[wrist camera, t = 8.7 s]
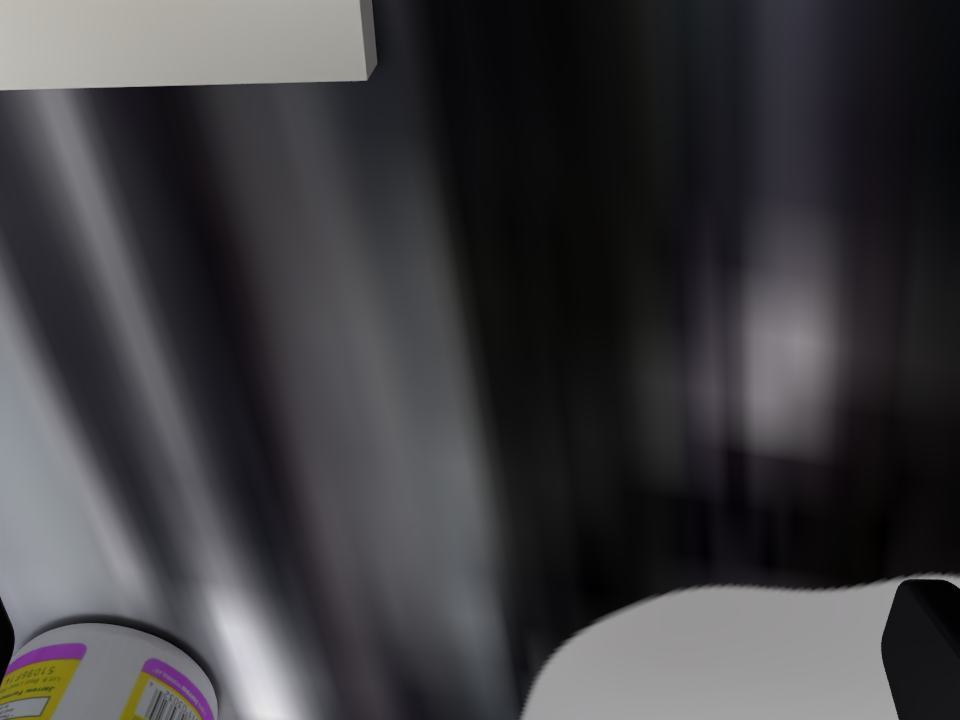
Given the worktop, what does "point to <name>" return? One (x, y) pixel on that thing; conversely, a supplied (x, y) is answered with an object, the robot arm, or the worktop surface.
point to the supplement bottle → (104, 678)
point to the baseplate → (183, 42)
